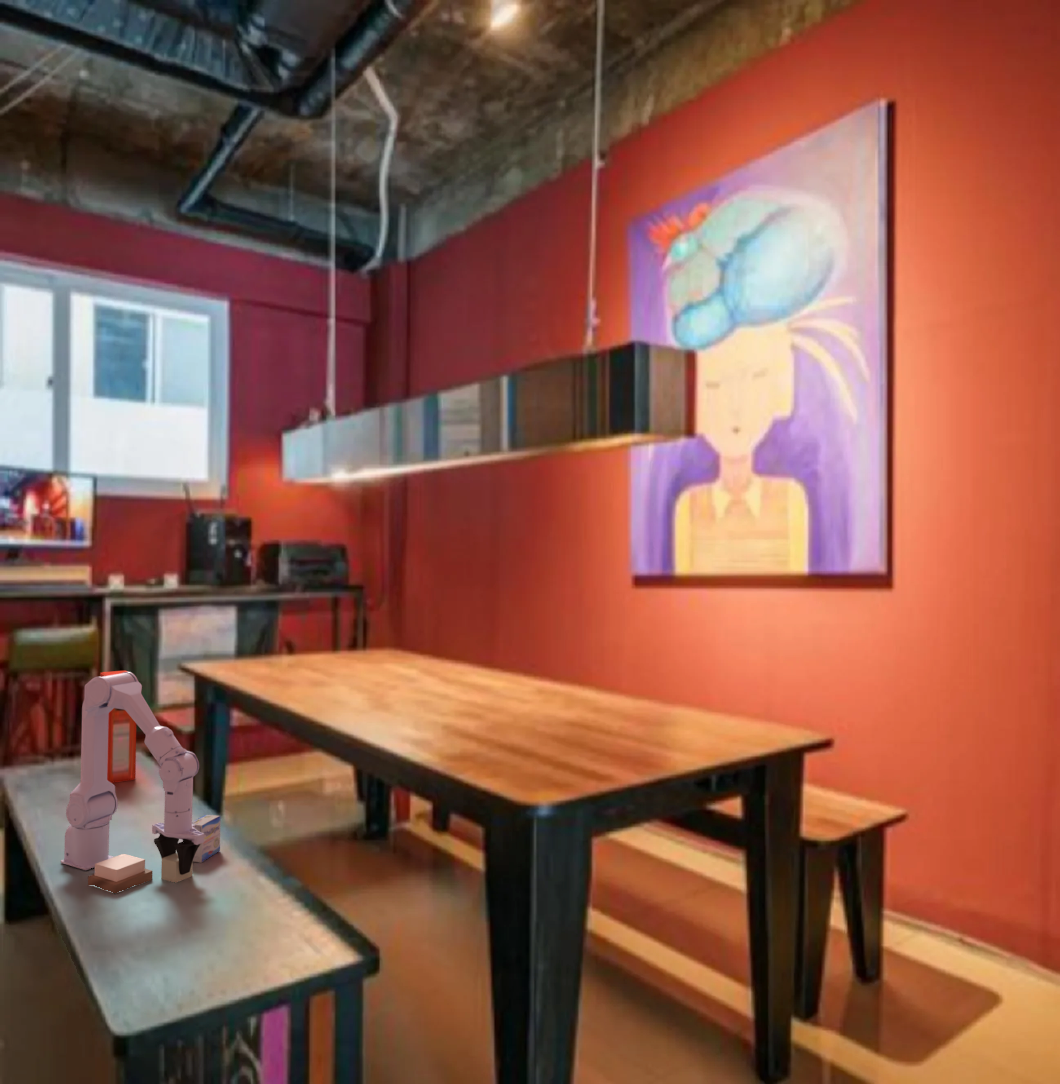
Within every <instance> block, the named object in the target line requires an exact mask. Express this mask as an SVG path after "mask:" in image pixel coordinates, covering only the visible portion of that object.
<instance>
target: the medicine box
mask: <svg viewBox="0 0 1060 1084" xmlns="http://www.w3.org/2000/svg"><path fill="white" fill-rule="evenodd" d="M221 818H222V817H221V815H215V814H205V815H202V816H200V817H198V818H197V819H194V820H192V824H194V825H195V829H196V830H198V831H199V832H201V833H204V843H201V844H200V846H199V847H198V849H197V851H196V853H195V856H194V858H193V863H203V862H205V861H206V859H207V860H208V859H210V858H211V857H213V856H214V855H216V854H218V853H219V852H220V851H221ZM217 852H218V853H217ZM212 855H213V856H212ZM209 857H210V858H209ZM204 860H205V861H204Z"/></svg>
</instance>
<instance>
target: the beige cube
mask: <svg viewBox="0 0 1060 1084" xmlns="http://www.w3.org/2000/svg"><path fill="white" fill-rule="evenodd" d="M193 863H194V862H193V861H192V865H191V868H190V872H188V873H186V874H183V875H181V874H180V871H179V859H178V854H177V852H176V853H175V854H172V855H169V856H167V857H164V858H161V872H160V873H161V876H160V878H161V880H164V881H167V882H170V881H171V882H170V883H174V882H175V883H174V884H176V883H178V881H179V882H181V881H183V880H186V879H189V878H190V877H191V878H192V877H193V868H194V867H193Z"/></svg>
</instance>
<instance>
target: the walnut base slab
mask: <svg viewBox="0 0 1060 1084" xmlns="http://www.w3.org/2000/svg"><path fill="white" fill-rule="evenodd" d="M147 881H148V882H150V881H153V870H150V869H147V868H145V871H143V872H141V873H138V874H136V875H133V876H130V877H128V878H125V879H123V880H120V881H117V882H115V881H112V880H108V879H105V878H102V877H98V876H95V873H93V874H91V875H90V874H89V875H88V877H87V886H88V885H95V886H97V887H100V888H102V889H104V890H108V891H111V892H113V893H117V892H119V891H122V890H124V891H127V890H128V889H127V888H130V887H132V886H134V885H137V886H139V884H140V885H142V883H143V884H145V883H148V882H147ZM144 882H145V883H144ZM132 888H133V887H132ZM126 889H127V890H126ZM130 889H131V888H130ZM104 890H103V891H104ZM122 892H123V891H122ZM113 893H112V894H113ZM119 893H120V892H119ZM117 894H118V893H117Z"/></svg>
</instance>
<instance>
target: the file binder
mask: <svg viewBox="0 0 1060 1084" xmlns="http://www.w3.org/2000/svg"><path fill="white" fill-rule="evenodd" d="M124 672H128V671H127V670H115V671H102V672H99V677H103V676H109V675H115V674H121V673H124ZM136 758H137V724H136V722H135V721H134V720H133V719H132V718H131V716H130V715H129V714H128V713H127V712H126V710H124V709H117V708H114V709H112V710H111V711H110V712H109V718H108V763H107V780H108V781H109V782H111V783H112V784H113V783H114V784H115V783H120V782H129V781H134V780H136V777H137V776H136V770H137V769H136V766H137V763H136V761H137V759H136Z"/></svg>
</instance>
